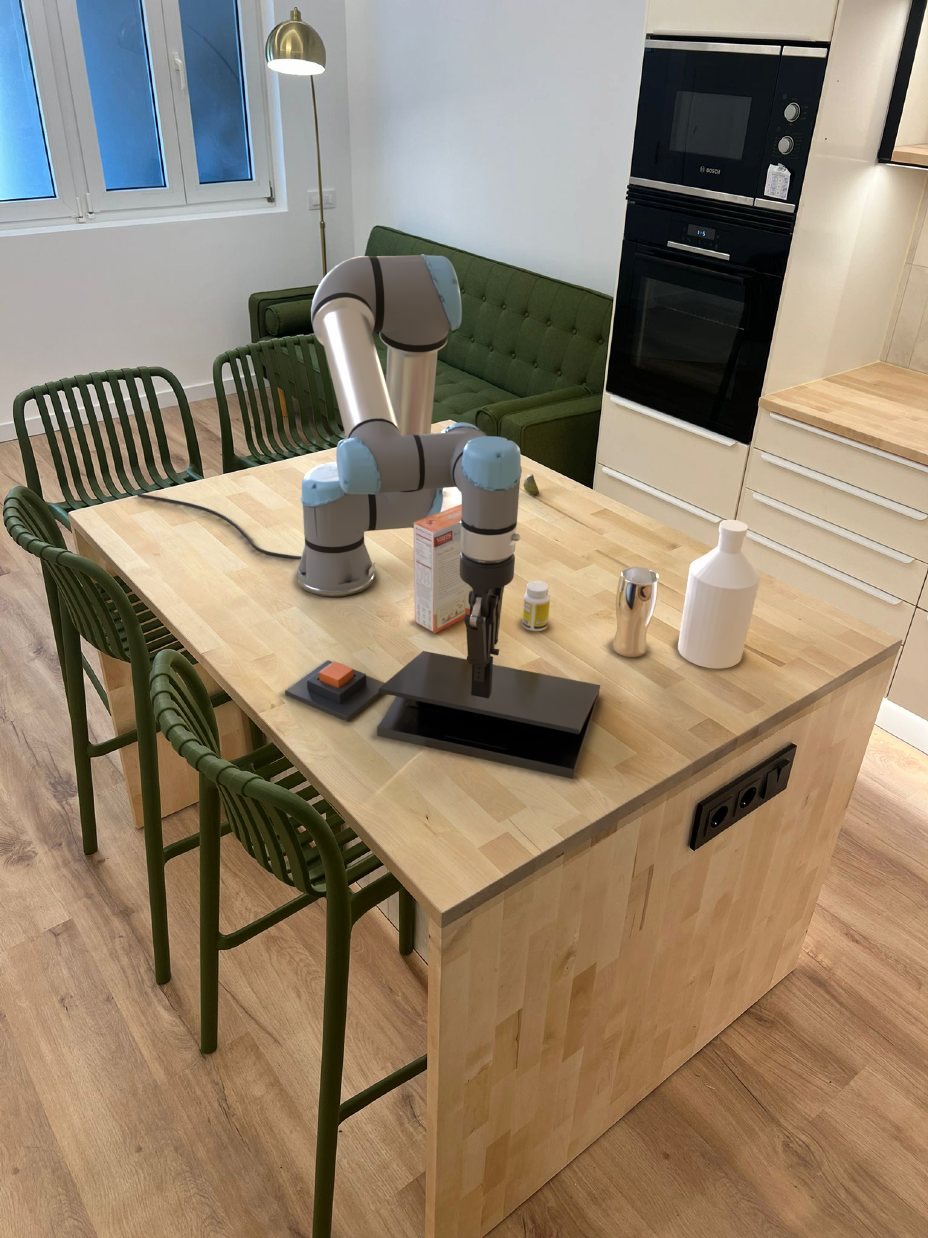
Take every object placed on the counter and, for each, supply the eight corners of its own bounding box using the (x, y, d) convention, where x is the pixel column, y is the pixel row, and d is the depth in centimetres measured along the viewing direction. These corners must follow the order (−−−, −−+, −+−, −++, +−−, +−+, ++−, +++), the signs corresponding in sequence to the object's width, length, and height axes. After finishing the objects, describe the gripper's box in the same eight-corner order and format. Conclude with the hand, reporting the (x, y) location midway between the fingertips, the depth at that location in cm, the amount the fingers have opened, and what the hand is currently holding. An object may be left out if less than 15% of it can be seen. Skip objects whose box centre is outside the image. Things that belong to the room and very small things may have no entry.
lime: (531, 488, 231) (532, 469, 229) (545, 494, 228) (546, 475, 226) (518, 493, 229) (519, 473, 226) (532, 499, 226) (534, 480, 223)
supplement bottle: (550, 621, 177) (553, 582, 173) (543, 634, 173) (547, 594, 169) (525, 616, 178) (528, 577, 174) (518, 629, 174) (521, 589, 170)
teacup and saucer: (444, 498, 224) (445, 483, 222) (411, 497, 224) (411, 481, 222) (445, 484, 232) (446, 469, 230) (413, 483, 232) (413, 468, 230)
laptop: (573, 779, 138) (574, 769, 137) (376, 736, 146) (376, 726, 145) (598, 698, 156) (599, 689, 155) (422, 663, 163) (422, 654, 162)
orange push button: (285, 695, 154) (283, 680, 153) (327, 664, 162) (327, 650, 161) (347, 722, 148) (347, 707, 147) (388, 689, 157) (388, 674, 155)
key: (319, 681, 153) (318, 672, 153) (334, 669, 156) (334, 661, 156) (338, 689, 152) (338, 680, 151) (353, 677, 155) (353, 668, 154)
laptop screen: (578, 735, 135) (579, 729, 135) (377, 693, 142) (378, 688, 142) (599, 689, 155) (600, 685, 155) (422, 655, 162) (423, 650, 162)
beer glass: (606, 638, 172) (615, 565, 165) (643, 637, 173) (654, 565, 165) (614, 659, 166) (624, 585, 159) (652, 658, 167) (664, 584, 159)
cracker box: (465, 597, 184) (468, 499, 173) (487, 609, 180) (492, 509, 169) (411, 622, 175) (412, 520, 165) (433, 635, 172) (435, 531, 161)
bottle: (756, 664, 166) (784, 537, 153) (696, 673, 163) (720, 544, 150) (722, 630, 176) (746, 507, 163) (664, 638, 173) (685, 514, 160)
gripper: (501, 577, 121) (493, 724, 133) (525, 536, 132) (516, 675, 144) (446, 568, 123) (443, 713, 135) (474, 528, 134) (469, 666, 146)
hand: (481, 694), depth 140 cm, fingers closed
